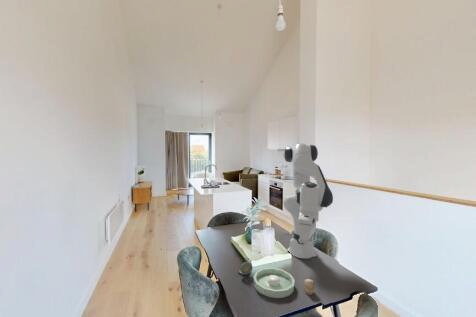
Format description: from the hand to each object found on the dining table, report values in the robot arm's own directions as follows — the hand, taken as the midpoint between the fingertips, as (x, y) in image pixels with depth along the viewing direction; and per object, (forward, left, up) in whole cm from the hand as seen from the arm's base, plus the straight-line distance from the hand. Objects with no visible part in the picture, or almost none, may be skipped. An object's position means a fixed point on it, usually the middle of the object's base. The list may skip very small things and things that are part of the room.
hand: (308, 244), depth 111 cm
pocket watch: (-3, -33, -23) cm, 40 cm away
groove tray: (+2, -16, -23) cm, 28 cm away
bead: (+1, +1, -23) cm, 23 cm away
